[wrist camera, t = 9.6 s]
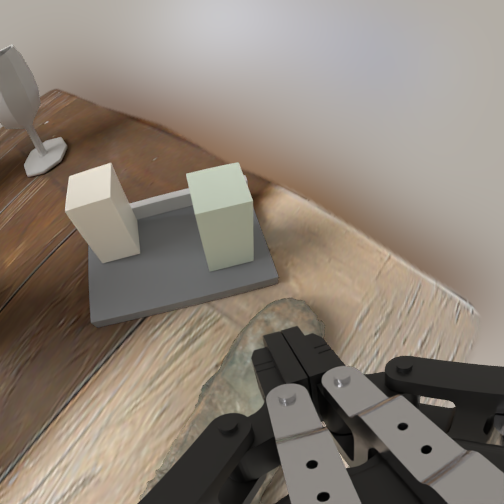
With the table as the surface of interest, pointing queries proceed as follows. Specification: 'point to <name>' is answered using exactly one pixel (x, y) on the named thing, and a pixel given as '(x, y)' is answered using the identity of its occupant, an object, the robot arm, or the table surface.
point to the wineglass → (25, 110)
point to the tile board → (169, 266)
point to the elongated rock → (239, 379)
